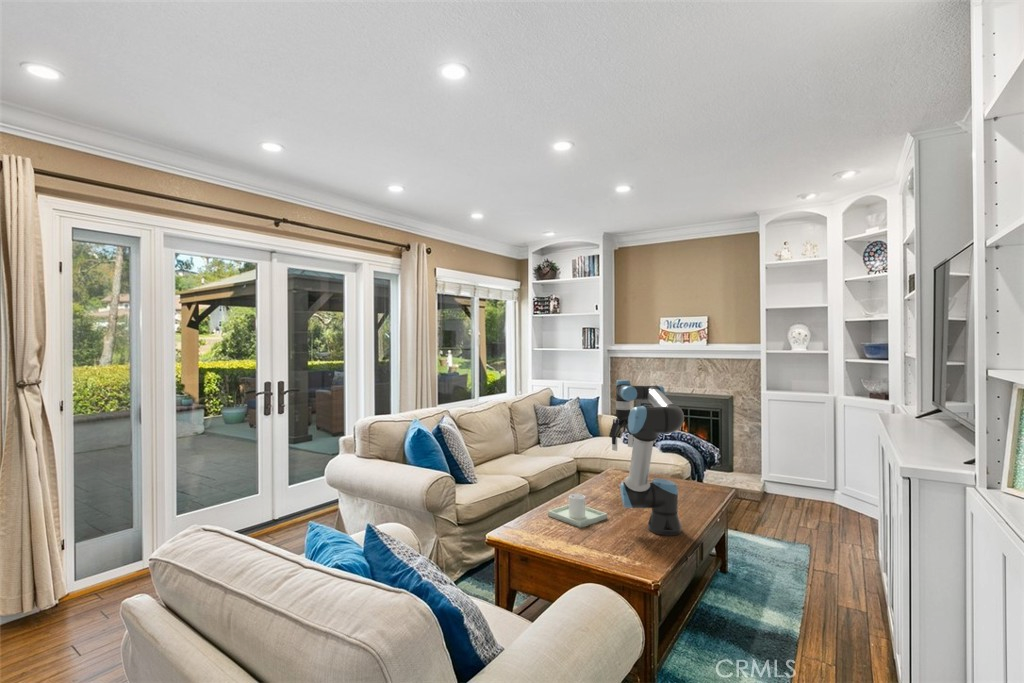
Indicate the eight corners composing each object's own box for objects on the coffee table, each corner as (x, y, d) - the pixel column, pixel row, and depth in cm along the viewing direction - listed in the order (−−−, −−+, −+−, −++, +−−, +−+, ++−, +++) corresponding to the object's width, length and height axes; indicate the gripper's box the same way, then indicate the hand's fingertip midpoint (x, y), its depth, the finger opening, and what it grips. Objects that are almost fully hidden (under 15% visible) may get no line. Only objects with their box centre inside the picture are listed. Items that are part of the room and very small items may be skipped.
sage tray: (607, 518, 255) (607, 513, 255) (580, 528, 242) (580, 522, 242) (574, 507, 272) (574, 502, 272) (547, 515, 259) (547, 510, 259)
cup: (568, 518, 252) (568, 498, 252) (569, 510, 264) (569, 491, 263) (585, 519, 250) (585, 499, 250) (585, 511, 262) (585, 491, 262)
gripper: (631, 406, 282) (630, 444, 282) (602, 410, 266) (602, 450, 266) (642, 407, 276) (642, 446, 276) (614, 411, 260) (613, 453, 260)
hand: (622, 448), depth 271 cm, fingers open, 13 cm apart
